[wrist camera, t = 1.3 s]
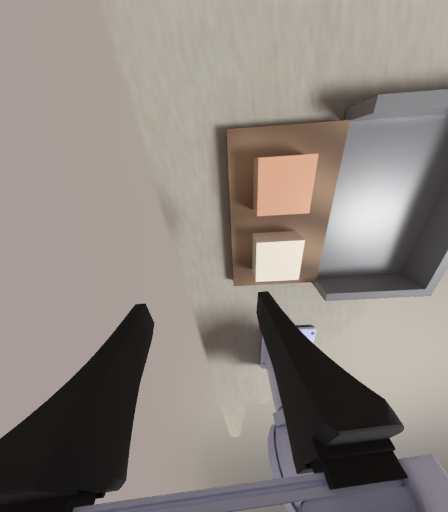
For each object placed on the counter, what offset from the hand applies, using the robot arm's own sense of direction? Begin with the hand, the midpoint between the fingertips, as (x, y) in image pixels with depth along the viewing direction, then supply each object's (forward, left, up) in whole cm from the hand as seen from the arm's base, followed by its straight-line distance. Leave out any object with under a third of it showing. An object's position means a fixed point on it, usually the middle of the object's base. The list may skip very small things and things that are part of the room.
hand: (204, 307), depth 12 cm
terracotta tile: (+6, -7, -9) cm, 13 cm away
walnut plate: (+3, -7, -10) cm, 13 cm away
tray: (+3, -18, -10) cm, 21 cm away
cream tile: (-1, -7, -9) cm, 11 cm away
